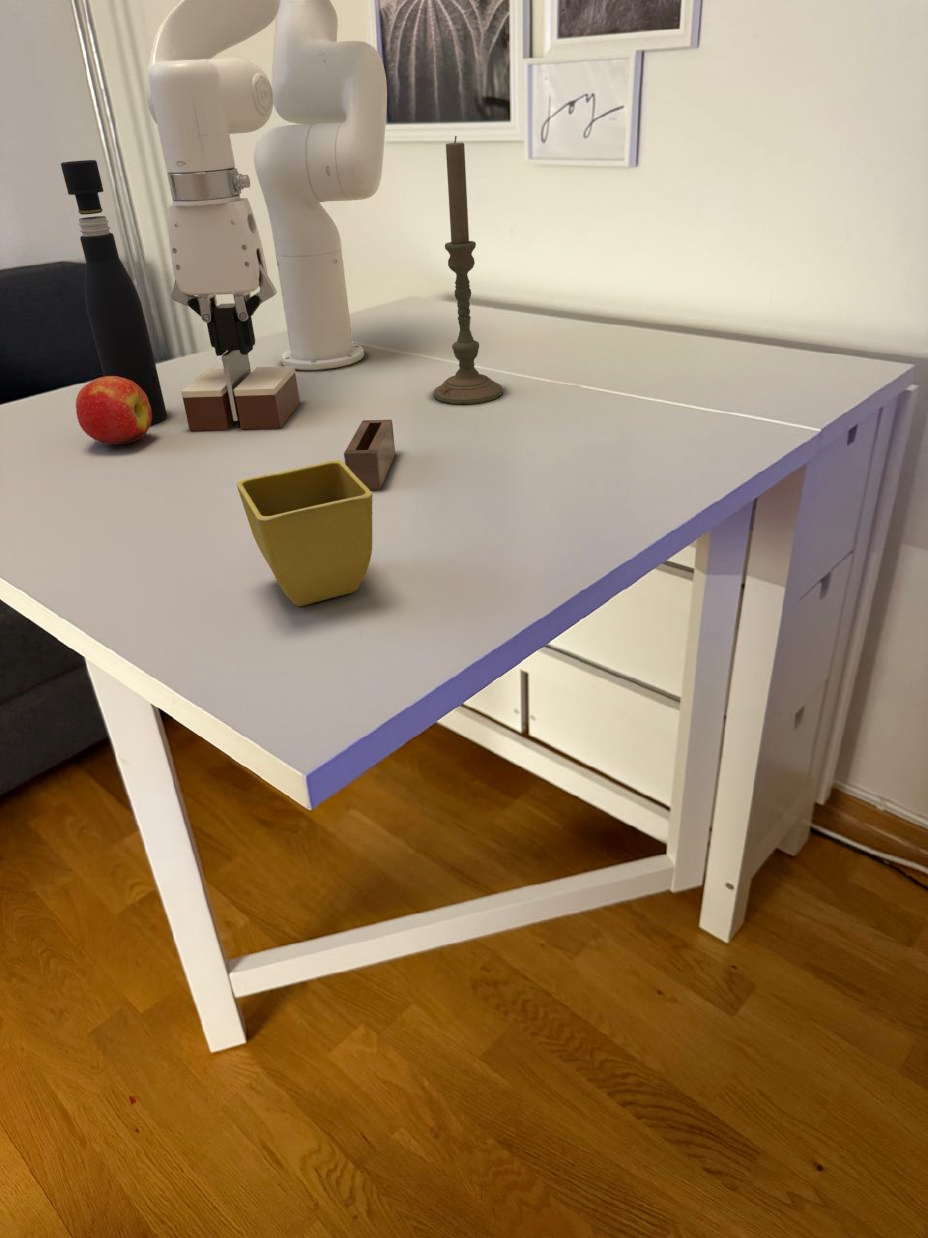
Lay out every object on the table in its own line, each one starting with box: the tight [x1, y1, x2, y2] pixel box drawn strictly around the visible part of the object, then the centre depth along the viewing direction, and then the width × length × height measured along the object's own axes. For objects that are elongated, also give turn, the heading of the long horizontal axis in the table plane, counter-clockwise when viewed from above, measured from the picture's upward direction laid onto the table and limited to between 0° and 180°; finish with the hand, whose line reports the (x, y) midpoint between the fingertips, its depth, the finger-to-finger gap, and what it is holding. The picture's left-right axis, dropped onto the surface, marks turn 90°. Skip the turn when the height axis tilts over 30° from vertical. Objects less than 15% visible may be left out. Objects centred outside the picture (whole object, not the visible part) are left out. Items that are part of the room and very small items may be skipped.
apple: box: [75, 376, 152, 446], centre depth 107 cm, size 8×8×8 cm
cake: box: [180, 367, 237, 432], centre depth 114 cm, size 10×5×5 cm, turn 175°
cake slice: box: [234, 365, 301, 431], centre depth 114 cm, size 10×5×5 cm, turn 175°
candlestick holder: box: [433, 135, 504, 405], centre depth 111 cm, size 9×9×30 cm
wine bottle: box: [60, 159, 168, 426], centre depth 109 cm, size 6×6×30 cm
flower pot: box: [235, 459, 373, 607], centre depth 71 cm, size 9×9×9 cm
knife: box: [213, 302, 252, 422], centre depth 111 cm, size 8×2×13 cm, turn 175°
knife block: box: [343, 419, 396, 491], centre depth 95 cm, size 10×3×4 cm, turn 175°
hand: (234, 351), depth 111 cm, fingers closed on knife, 2 cm apart
